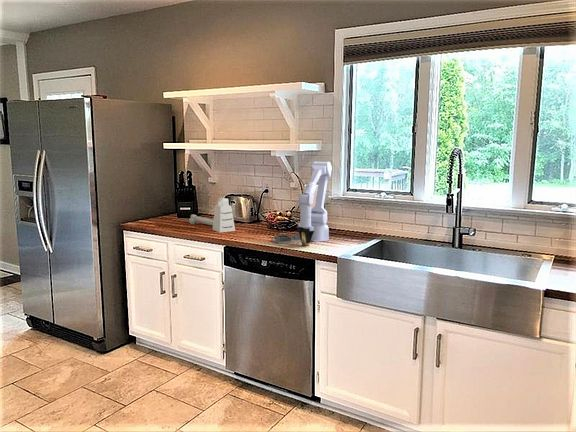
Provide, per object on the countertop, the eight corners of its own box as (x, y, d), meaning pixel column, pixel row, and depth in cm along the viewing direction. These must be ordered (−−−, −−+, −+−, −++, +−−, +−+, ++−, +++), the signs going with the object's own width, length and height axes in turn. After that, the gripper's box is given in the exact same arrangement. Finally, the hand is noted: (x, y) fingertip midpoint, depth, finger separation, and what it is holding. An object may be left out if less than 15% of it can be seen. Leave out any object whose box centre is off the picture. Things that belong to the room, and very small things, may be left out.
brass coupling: (307, 244, 259) (307, 231, 257) (311, 246, 254) (311, 233, 253) (299, 245, 257) (299, 232, 256) (303, 246, 253) (303, 233, 251)
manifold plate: (300, 238, 275) (300, 233, 274) (307, 241, 267) (307, 235, 266) (271, 240, 267) (271, 235, 267) (277, 243, 259) (277, 238, 259)
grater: (227, 228, 306) (226, 197, 302) (235, 230, 297) (234, 198, 294) (212, 229, 300) (211, 198, 297) (219, 232, 291) (219, 199, 288)
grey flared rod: (216, 221, 308) (187, 213, 320) (215, 231, 309) (187, 222, 322) (221, 220, 312) (193, 212, 325) (220, 230, 313) (192, 221, 326)
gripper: (293, 215, 258) (293, 240, 260) (305, 219, 245) (304, 245, 247) (304, 214, 261) (304, 238, 263) (317, 218, 248) (317, 244, 250)
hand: (305, 241), depth 255 cm, fingers open, 6 cm apart
